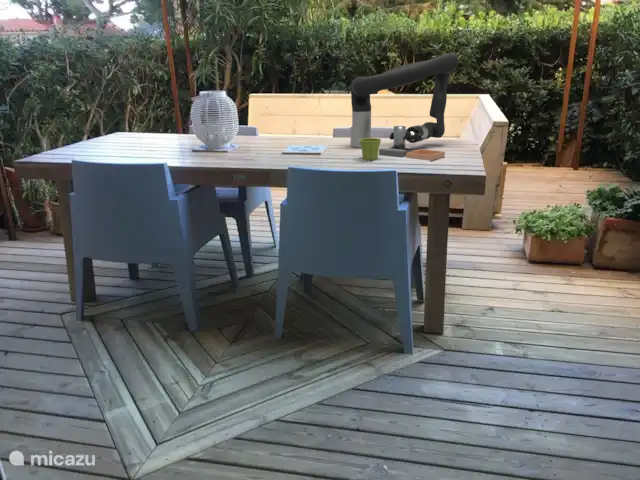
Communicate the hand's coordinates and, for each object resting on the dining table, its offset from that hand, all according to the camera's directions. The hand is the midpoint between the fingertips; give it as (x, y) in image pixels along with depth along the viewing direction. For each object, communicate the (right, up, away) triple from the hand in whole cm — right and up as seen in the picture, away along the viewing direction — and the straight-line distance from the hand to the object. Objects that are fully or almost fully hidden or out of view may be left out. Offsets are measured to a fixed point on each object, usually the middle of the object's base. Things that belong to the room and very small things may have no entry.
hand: (398, 137), depth 242 cm
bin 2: (+11, -10, -7) cm, 16 cm away
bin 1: (0, -7, +2) cm, 8 cm away
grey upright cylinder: (0, -7, +3) cm, 7 cm away
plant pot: (-14, -11, -7) cm, 19 cm away
